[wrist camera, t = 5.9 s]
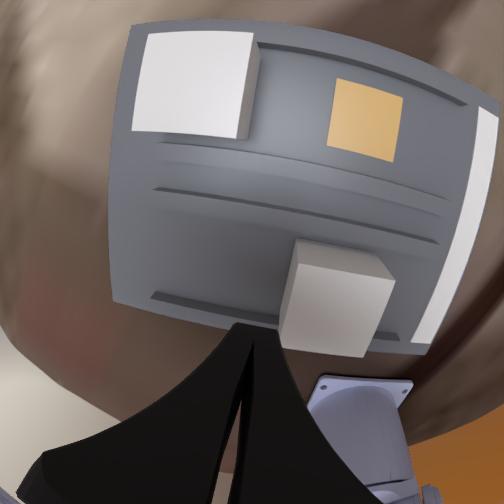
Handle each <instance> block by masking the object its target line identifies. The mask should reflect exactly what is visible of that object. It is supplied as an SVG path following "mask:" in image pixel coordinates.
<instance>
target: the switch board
mask: <svg viewBox="0 0 504 504" xmlns="http://www.w3.org/2000/svg"><path fill="white" fill-rule="evenodd" d="M181 31H233V32H250V33H254V35H255V38H256V42H257V45H258V48H259V51H260V55H261V61H260V67H259V72H258V78H257V84H256V90H255V96H254V103H253V109H252V115H251V121H250V128H249V134H248V140H242V139H234V138H226V137H217V136H208V135H197V134H185V133H171V132H152V131H131V130H132V122H133V114H134V107H135V100H136V93H137V87H138V82H139V76H140V71H141V65H142V61H143V56H144V51H145V47H146V42H147V38H148V34H154V33H165V32H181ZM500 109H501V103H499V102H498V101H496V100H495V99H493V98H491V97H490V96H488V95H487V94H485V93H483V92H482V91H480V90H478V89H477V88H475V87H473V86H471V85H470V84H468V83H466V82H464V81H462V80H460V79H458V78H457V77H455V76H453V75H451V74H449V73H447V72H445V71H443V70H441V69H438V68H436V67H434V66H432V65H430V64H427V63H425V62H423V61H420V60H418V59H416V58H413V57H411V56H408V55H406V54H403V53H400V52H398V51H395V50H392V49H389V48H386V47H383V46H380V45H377V44H374V43H371V42H368V41H364V40H361V39H357V38H354V37H350V36H346V35H342V34H338V33H334V32H329V31H325V30H320V29H315V28H309V27H304V26H297V25H291V24H284V23H276V22H266V21H255V20H239V19H187V20H172V21H161V22H151V23H144V24H137V25H132V26H131V30H130V34H129V38H128V42H127V46H126V50H125V55H124V59H123V64H122V69H121V75H120V80H119V86H118V92H117V98H116V105H115V113H114V121H113V129H112V139H111V151H110V166H109V189H108V234H109V258H110V273H111V285H112V295H113V301H114V302H118V303H121V304H125V305H128V306H132V307H135V308H139V309H143V310H146V311H150V312H154V313H158V314H161V315H165V316H169V317H173V318H177V319H182V320H186V321H190V322H194V323H199V324H203V325H208V326H212V327H217V328H222V329H226V330H230V328H231V327H232V325H233V324H234V323H236V322H239V323H244V324H250V325H255V326H260V327H266V328H271V329H276V330H277V331H278V332H279V316H280V307H281V303H282V299H283V294H284V290H285V286H286V281H287V277H288V273H289V268H290V264H291V259H292V255H293V250H294V245H295V241H296V238H301V239H307V240H312V241H317V242H322V243H328V244H333V245H338V246H343V247H348V248H353V249H358V250H363V251H368V252H373V253H376V254H377V256H378V257H379V258H380V260H381V261H382V262H383V264H384V265H385V267H386V268H387V269H388V271H389V272H390V274H391V275H392V276H393V278H394V279H395V284H394V287H393V289H392V292H391V295H390V297H389V300H388V302H387V305H386V307H385V310H384V312H383V315H382V317H381V319H380V322H379V324H378V326H377V329H376V331H375V333H374V335H373V337H372V340H371V342H370V344H369V346H368V348H367V350H366V351H374V352H385V353H399V354H415V355H425V354H426V353H427V351H428V349H429V347H430V345H431V344H432V342H433V340H434V338H435V336H436V334H437V332H438V330H439V329H440V327H441V325H442V323H443V321H444V318H445V316H446V314H447V312H448V310H449V308H450V306H451V304H452V301H453V299H454V297H455V295H456V292H457V290H458V288H459V285H460V283H461V280H462V278H463V275H464V273H465V270H466V267H467V265H468V262H469V259H470V256H471V254H472V251H473V248H474V245H475V242H476V238H477V235H478V232H479V229H480V225H481V222H482V218H483V214H484V211H485V207H486V203H487V199H488V194H489V190H490V185H491V180H492V175H493V170H494V164H495V157H496V151H497V143H498V134H499V124H500Z"/></svg>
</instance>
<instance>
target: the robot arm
mask: <svg viewBox="0 0 504 504" xmlns="http://www.w3.org/2000/svg"><path fill="white" fill-rule="evenodd" d="M323 385H325V386H323ZM412 387H413V382H412V381H411V380H389V379H369V378H354V377H342V376H331V375H324V376H321V377H320V378H319V380H318V382H317V384H316V386H315V389H314V391H313V393H312V395H311V397H310V399H309V402H308V404H307V406H306V404H305V402H304V400H303V398H302V396H301V394H300V392H299V390H298V388H297V385H296V383H295V381H294V378H293V376H292V374H291V371H290V369H289V366H288V363H287V361H286V358H285V355H284V352H283V348H282V345H281V341H280V336H279V332H278V331H277V330H276V329H271V328H266V327H260V326H255V325H250V324H244V323H239V322H236V323H234V324H233V325H232V327H231V328H230V330H229V332H228V333H227V334H226V336H225V337H224V338H223V340H222V341H221V342H220V343H219V345H218V346H217V347H216V348H215V349H214V350H213V351H212V353H211V354H210V355H209V356H208V357H207V358H206V359H205V360H204V361H203V362H202V363H201V364H200V365H199V366H198V367H197V368H196V369H195V370H194V371H193V372H192V373H191V374H190V375H189V376H187V377H186V378H185V379H184V380H183V381H182V382H181V383H180V384H178V385H177V386H176V387H175V388H173V389H172V390H171V391H170V392H168V393H167V394H166V395H164V396H163V397H161V398H160V399H159V400H157V401H156V402H154V403H153V404H151V405H150V406H148V407H147V408H145V409H143V410H142V411H140V412H139V413H137V414H135V415H134V416H132V417H130V418H128V419H127V420H125V421H123V422H121V423H119V424H117V425H115V426H113V427H110V428H108V429H106V430H104V431H102V432H100V433H98V434H95V435H93V436H91V437H88V438H86V439H83V440H80V441H77V442H74V443H71V444H68V445H64V446H61V447H58V448H55V449H51V450H48V451H45V452H43V453H42V455H41V456H40V457H39V458H38V459H37V460H36V461H35V462H34V464H33V465H32V466H31V468H30V469H29V471H28V473H27V474H26V476H25V478H24V479H23V481H22V483H21V484H20V486H19V488H18V489H17V491H16V494H17V497H18V498H19V499H20V500H21V501H23V502H24V503H25V504H211V503H212V499H213V494H214V490H215V486H216V482H217V478H218V473H219V469H220V465H221V461H222V458H223V454H224V451H225V448H226V445H227V442H228V439H229V436H230V433H231V430H232V427H233V424H234V421H235V418H236V415H237V412H238V409H239V406H240V402H241V399H242V402H241V412H240V423H239V435H238V446H237V456H236V463H235V469H234V474H233V479H232V484H231V489H230V493H229V498H228V503H227V504H422V503H421V498H420V494H419V489H418V483H417V479H416V478H415V476H414V471H413V467H412V462H411V459H410V454H409V450H408V446H407V442H406V439H405V435H404V431H403V428H402V424H401V420H400V417H399V414H398V410H397V408H398V407H399V405H400V404H401V403H402V401H403V400H404V399H405V397H406V396H407V394H408V393H409V391H410V390H411V388H412ZM421 489H422V495H423V504H443V500H442V497H441V494H440V491H439V489H438V488H436V487H433V486H432V487H431V485H430V484H427V485H424V486H422V487H421ZM0 504H20V503H19V502H18V501H17V500H15V499H14V498H13V497H12V496H10V495H9V494H8V493H7V492H6V491H4V490H3V489H2V488H1V487H0Z"/></svg>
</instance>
